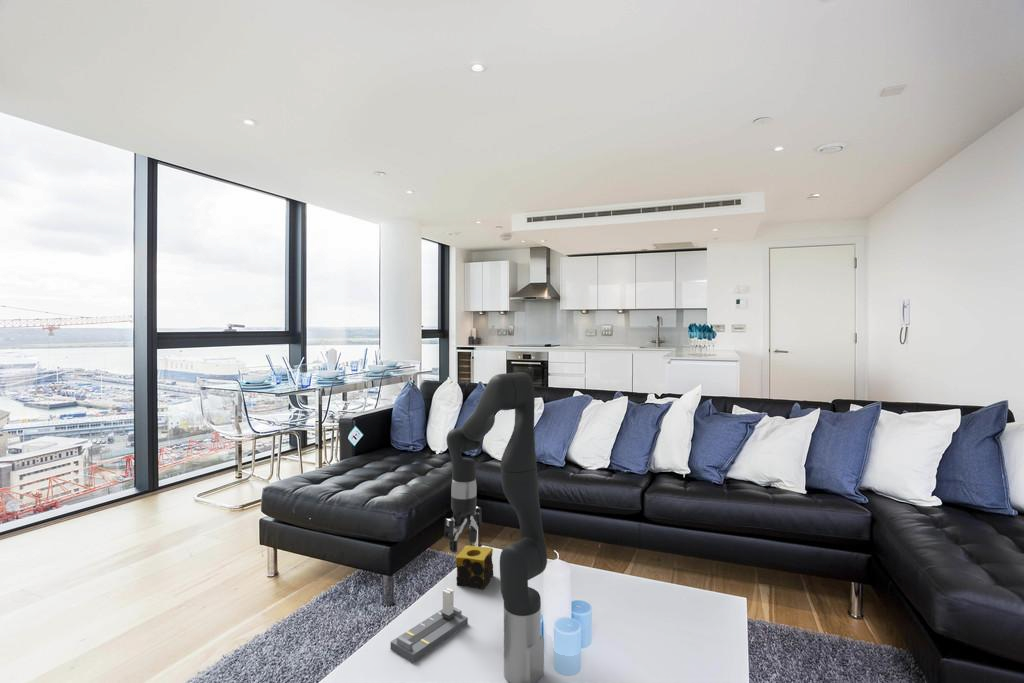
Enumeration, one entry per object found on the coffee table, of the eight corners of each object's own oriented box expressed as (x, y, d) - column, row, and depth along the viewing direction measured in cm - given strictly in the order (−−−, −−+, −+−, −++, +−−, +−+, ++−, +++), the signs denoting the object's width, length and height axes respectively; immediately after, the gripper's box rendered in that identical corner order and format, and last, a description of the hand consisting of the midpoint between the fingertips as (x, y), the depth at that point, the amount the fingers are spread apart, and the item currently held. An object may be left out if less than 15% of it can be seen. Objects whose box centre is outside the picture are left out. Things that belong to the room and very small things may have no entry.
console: (467, 624, 147) (467, 612, 147) (413, 662, 130) (413, 648, 130) (445, 613, 153) (445, 601, 153) (390, 648, 136) (390, 635, 136)
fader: (454, 615, 147) (454, 590, 147) (449, 619, 145) (448, 593, 145) (447, 612, 149) (447, 587, 149) (441, 616, 147) (441, 590, 147)
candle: (493, 575, 176) (493, 547, 176) (484, 590, 166) (484, 560, 166) (466, 572, 179) (466, 544, 179) (455, 586, 169) (455, 556, 169)
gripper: (457, 503, 143) (456, 559, 144) (488, 490, 155) (488, 542, 155) (438, 497, 148) (437, 551, 148) (470, 485, 159) (469, 535, 160)
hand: (463, 546), depth 152 cm, fingers open, 8 cm apart
